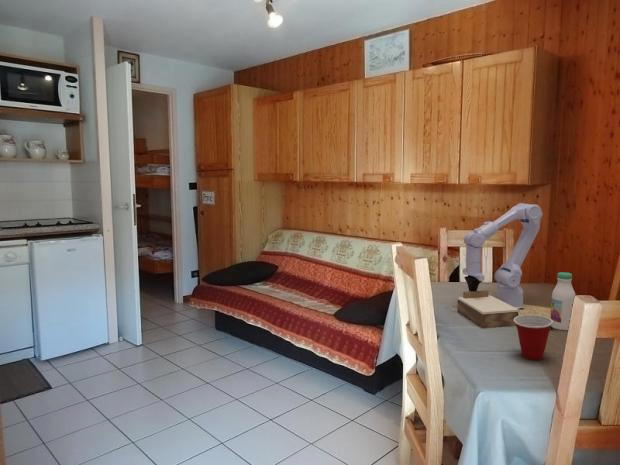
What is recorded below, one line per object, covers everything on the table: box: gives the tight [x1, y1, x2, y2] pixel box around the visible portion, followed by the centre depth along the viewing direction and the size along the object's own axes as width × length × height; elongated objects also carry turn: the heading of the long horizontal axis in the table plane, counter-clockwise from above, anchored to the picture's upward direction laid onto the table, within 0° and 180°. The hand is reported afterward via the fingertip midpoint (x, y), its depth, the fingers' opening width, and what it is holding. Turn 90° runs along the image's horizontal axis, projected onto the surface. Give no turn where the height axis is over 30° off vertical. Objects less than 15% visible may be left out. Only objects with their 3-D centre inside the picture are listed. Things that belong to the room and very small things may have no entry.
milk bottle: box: [550, 271, 576, 331], centre depth 160 cm, size 8×8×20 cm
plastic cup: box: [514, 313, 553, 361], centre depth 137 cm, size 11×11×12 cm
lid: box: [457, 289, 520, 314], centre depth 173 cm, size 14×20×3 cm
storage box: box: [457, 299, 520, 329], centre depth 174 cm, size 14×20×5 cm
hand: (472, 293), depth 184 cm, fingers closed
